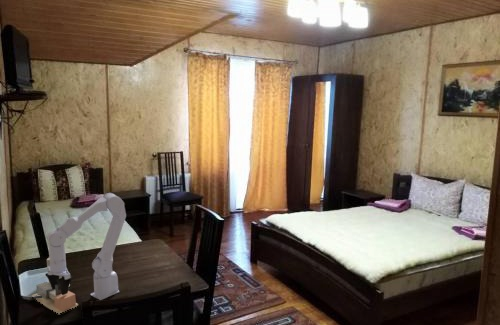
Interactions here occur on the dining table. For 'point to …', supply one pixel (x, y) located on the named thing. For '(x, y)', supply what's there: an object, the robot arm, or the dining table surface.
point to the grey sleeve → (43, 289)
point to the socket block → (64, 301)
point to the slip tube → (54, 292)
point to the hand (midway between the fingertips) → (59, 291)
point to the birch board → (51, 304)
